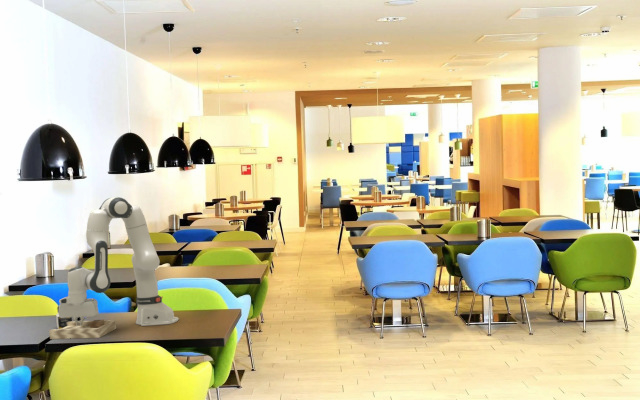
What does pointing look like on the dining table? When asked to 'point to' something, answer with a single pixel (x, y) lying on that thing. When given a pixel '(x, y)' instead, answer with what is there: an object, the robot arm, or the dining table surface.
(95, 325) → the walnut block
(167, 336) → the dining table surface
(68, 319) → the medicine bottle
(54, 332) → the woven tray
